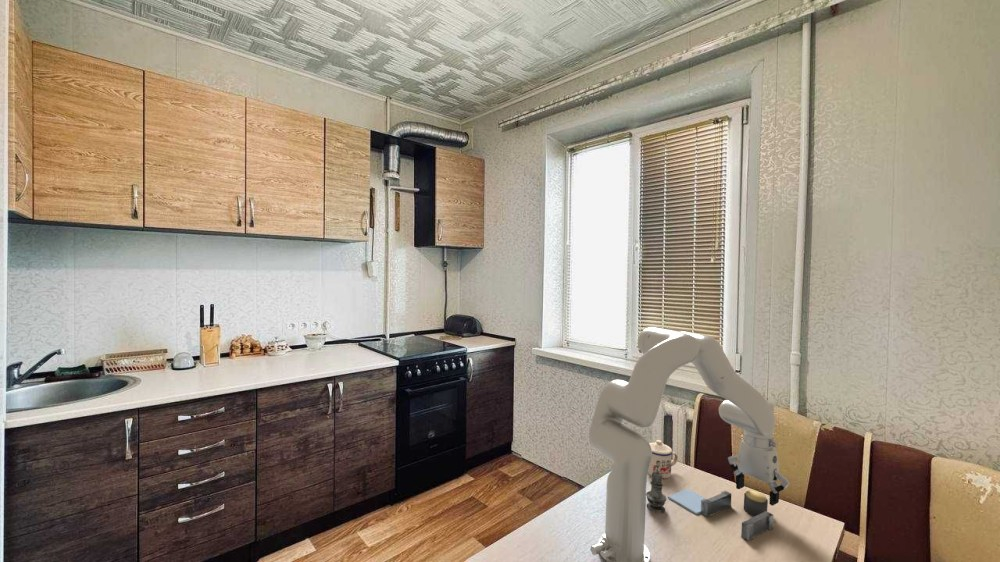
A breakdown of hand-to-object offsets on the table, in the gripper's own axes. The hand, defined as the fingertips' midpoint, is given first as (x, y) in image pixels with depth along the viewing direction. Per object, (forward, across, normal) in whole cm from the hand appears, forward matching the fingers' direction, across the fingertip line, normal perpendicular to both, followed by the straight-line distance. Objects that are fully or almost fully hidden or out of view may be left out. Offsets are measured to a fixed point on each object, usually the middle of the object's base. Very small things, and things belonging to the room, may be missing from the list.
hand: (756, 495), depth 121 cm
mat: (+5, +12, +13) cm, 19 cm away
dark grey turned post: (+5, +15, +26) cm, 31 cm away
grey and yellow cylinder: (+5, 0, 0) cm, 5 cm away
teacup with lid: (+5, +29, +6) cm, 30 cm away
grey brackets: (+5, 0, +10) cm, 11 cm away
